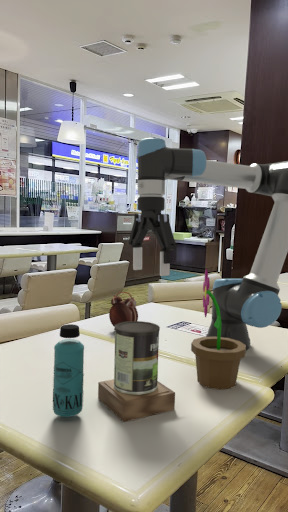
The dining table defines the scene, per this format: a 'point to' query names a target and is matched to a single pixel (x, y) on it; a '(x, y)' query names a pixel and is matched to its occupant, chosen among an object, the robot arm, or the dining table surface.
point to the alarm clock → (123, 310)
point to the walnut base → (136, 401)
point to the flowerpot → (216, 352)
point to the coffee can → (136, 357)
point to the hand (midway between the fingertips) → (150, 272)
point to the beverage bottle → (68, 373)
